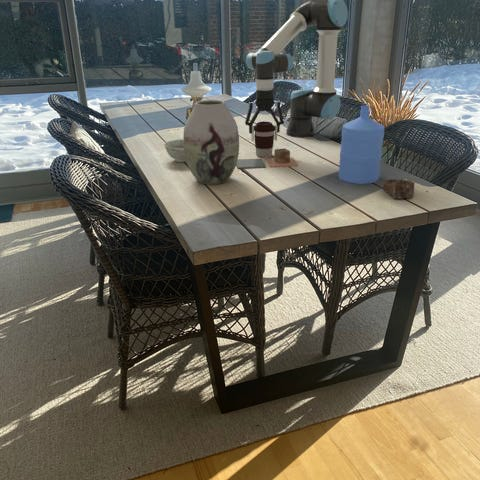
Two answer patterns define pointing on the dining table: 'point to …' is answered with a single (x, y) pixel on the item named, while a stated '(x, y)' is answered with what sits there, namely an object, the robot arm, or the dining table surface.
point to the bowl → (176, 150)
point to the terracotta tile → (275, 164)
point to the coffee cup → (264, 138)
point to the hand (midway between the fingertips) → (264, 140)
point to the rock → (399, 188)
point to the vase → (211, 142)
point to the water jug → (361, 149)
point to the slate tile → (250, 163)
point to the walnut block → (282, 156)
